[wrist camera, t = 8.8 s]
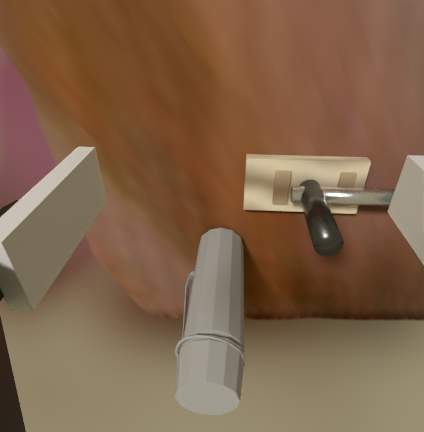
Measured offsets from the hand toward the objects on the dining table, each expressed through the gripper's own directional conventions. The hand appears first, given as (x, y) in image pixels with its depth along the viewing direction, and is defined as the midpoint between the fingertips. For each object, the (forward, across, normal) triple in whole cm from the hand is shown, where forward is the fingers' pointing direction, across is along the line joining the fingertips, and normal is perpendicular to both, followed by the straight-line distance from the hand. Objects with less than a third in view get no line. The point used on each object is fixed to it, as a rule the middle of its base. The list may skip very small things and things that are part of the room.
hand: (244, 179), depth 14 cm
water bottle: (+29, -3, -27) cm, 40 cm away
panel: (+29, +9, -15) cm, 34 cm away
